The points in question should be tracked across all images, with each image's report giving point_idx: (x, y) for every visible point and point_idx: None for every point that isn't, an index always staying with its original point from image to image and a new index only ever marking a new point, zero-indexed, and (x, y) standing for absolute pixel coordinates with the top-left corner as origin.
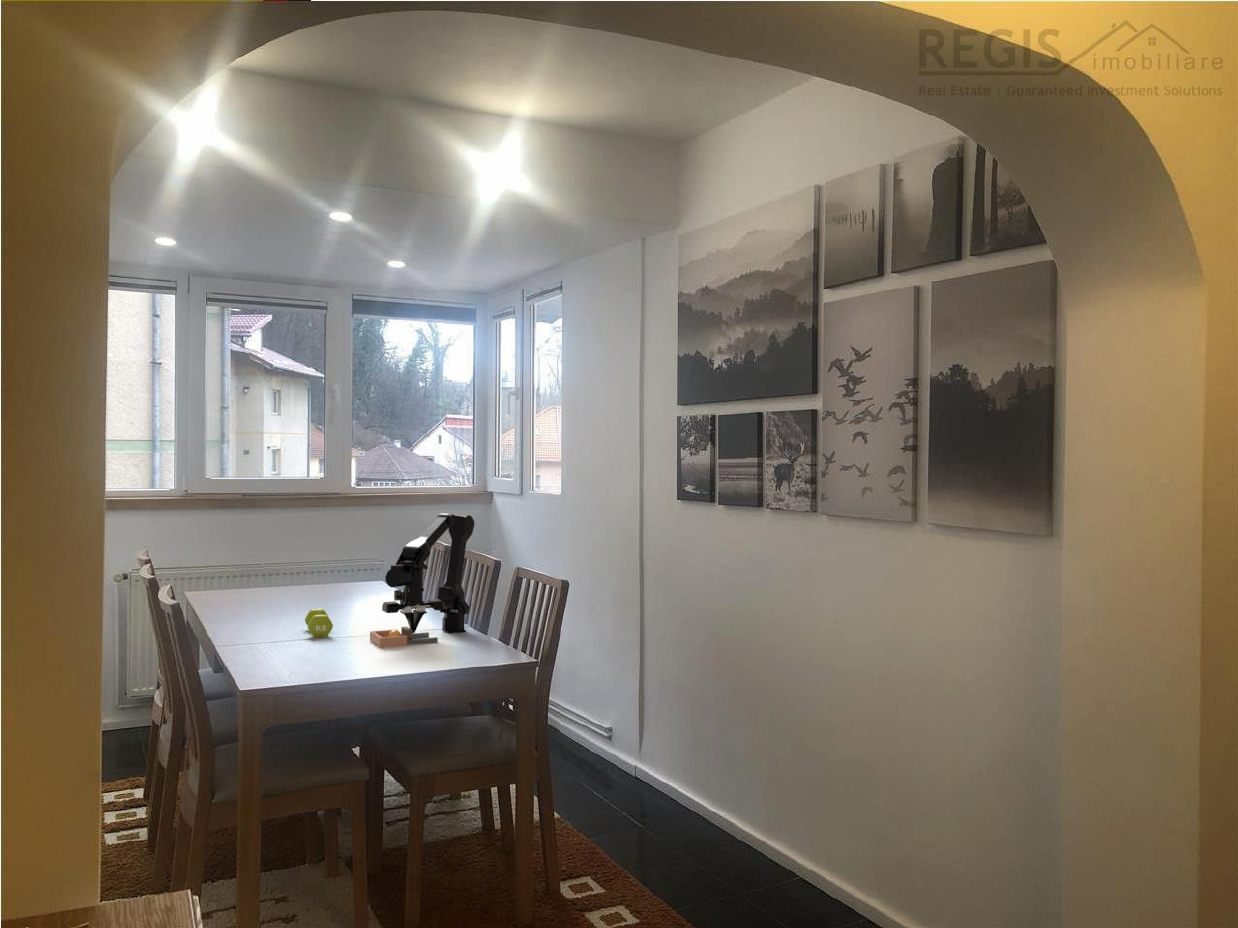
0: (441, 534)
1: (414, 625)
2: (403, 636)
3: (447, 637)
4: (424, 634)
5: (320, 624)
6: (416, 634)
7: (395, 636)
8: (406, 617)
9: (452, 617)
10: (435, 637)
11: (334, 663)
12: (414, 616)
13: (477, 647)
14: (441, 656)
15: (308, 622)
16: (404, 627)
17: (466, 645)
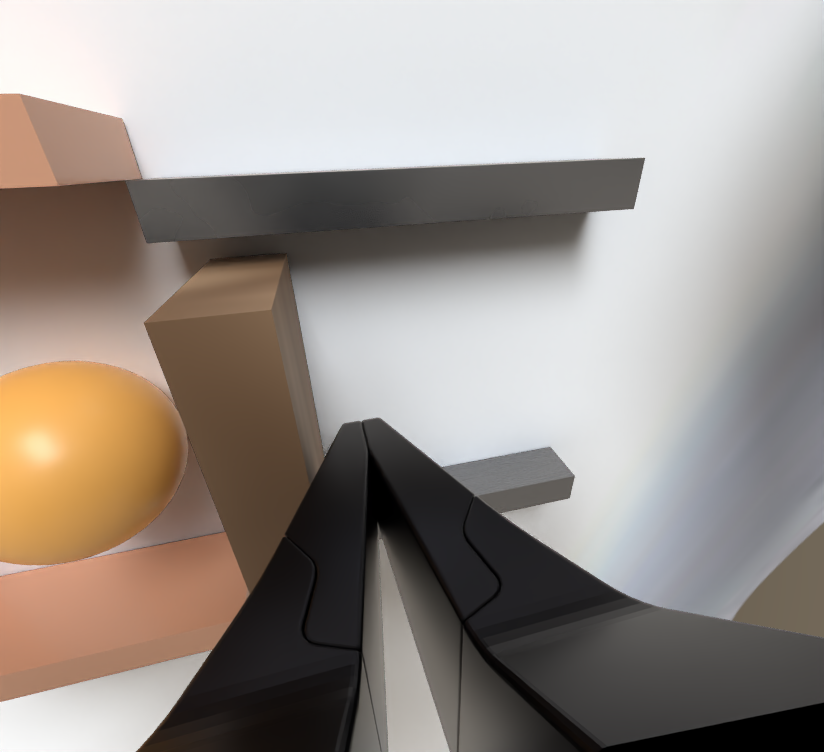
0: None
1: (393, 567)
2: (206, 649)
3: (732, 277)
4: (561, 212)
5: None
6: (452, 221)
7: (95, 657)
8: (211, 691)
9: None
10: (558, 483)
11: None
12: (467, 693)
13: (660, 604)
14: (417, 741)
15: None
16: (220, 405)
17: (648, 564)
